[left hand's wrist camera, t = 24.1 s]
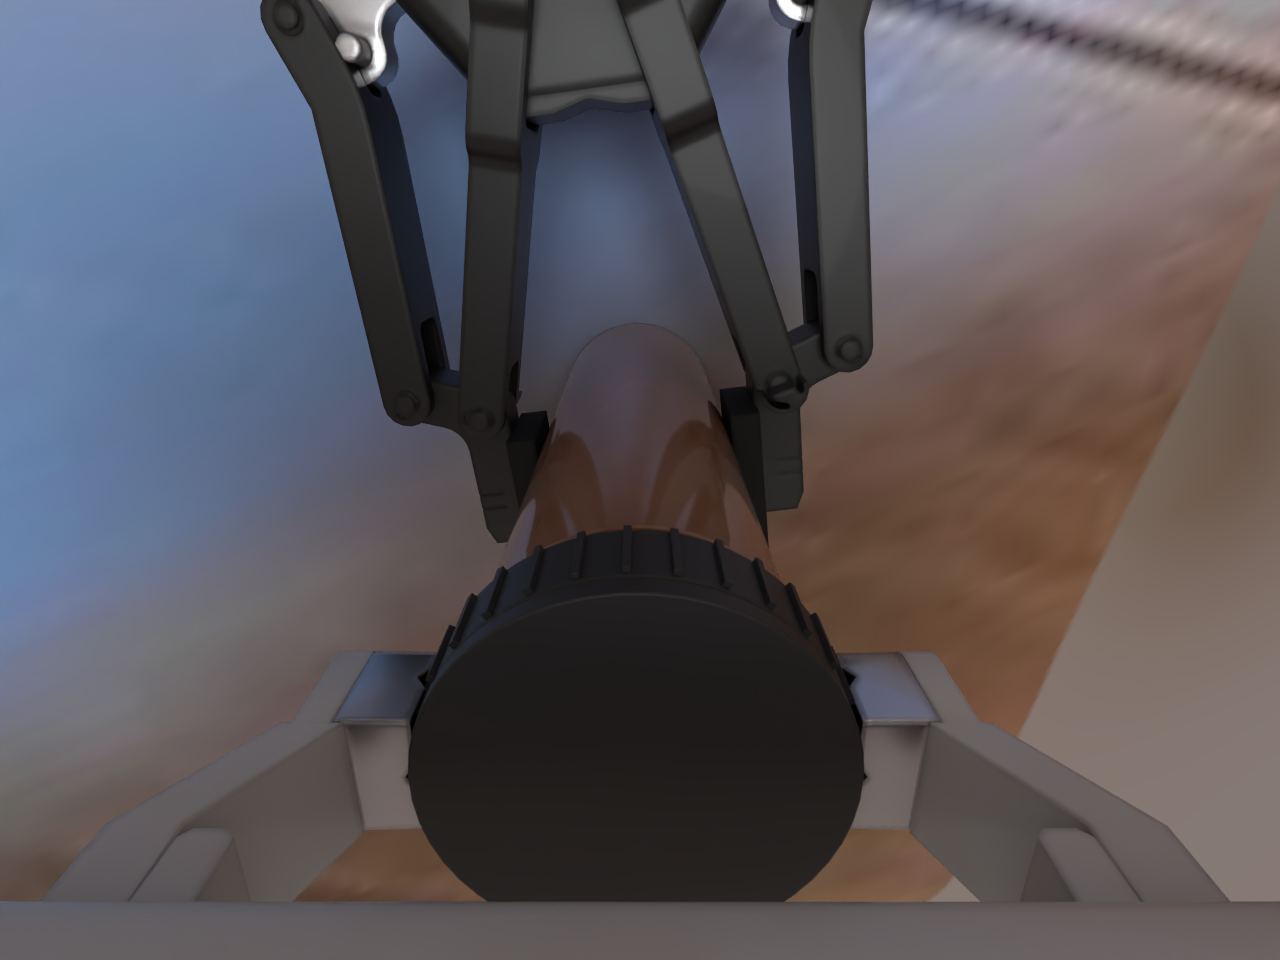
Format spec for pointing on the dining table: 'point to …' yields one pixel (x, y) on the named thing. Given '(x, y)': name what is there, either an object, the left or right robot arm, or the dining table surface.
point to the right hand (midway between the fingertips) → (659, 612)
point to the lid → (636, 729)
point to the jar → (637, 452)
